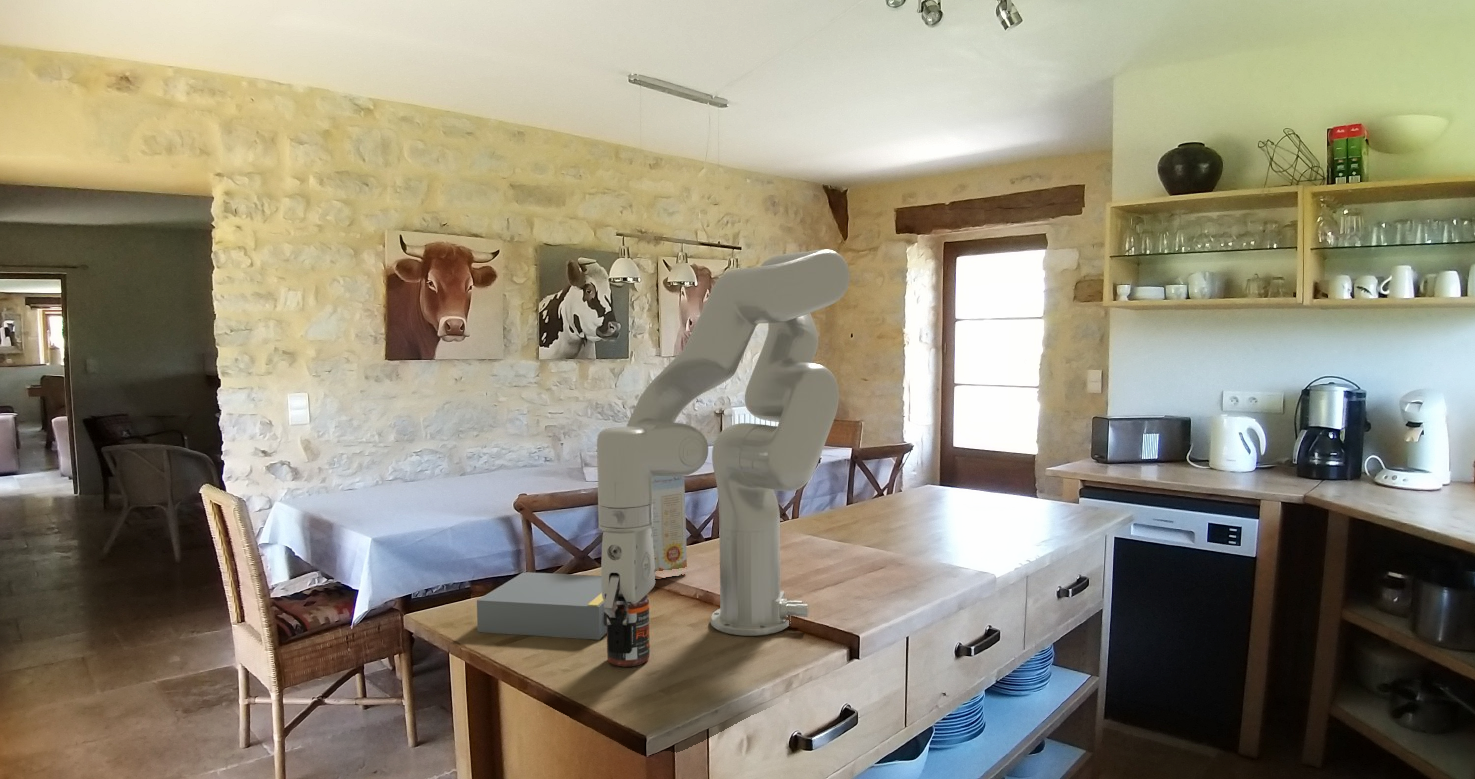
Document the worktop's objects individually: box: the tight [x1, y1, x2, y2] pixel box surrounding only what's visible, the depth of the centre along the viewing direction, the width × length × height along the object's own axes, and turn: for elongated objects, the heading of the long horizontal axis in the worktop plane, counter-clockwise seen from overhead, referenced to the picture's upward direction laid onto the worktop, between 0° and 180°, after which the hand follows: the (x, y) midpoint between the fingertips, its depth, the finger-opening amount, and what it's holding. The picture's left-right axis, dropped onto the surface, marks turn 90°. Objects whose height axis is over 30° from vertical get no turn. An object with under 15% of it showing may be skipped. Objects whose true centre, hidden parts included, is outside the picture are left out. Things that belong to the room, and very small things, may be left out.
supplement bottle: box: [606, 594, 651, 668], centre depth 117 cm, size 6×6×11 cm
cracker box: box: [651, 476, 688, 572], centre depth 158 cm, size 14×6×21 cm, turn 120°
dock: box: [476, 571, 607, 641], centre depth 135 cm, size 21×16×5 cm
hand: (628, 642), depth 117 cm, fingers closed on supplement bottle, 6 cm apart
